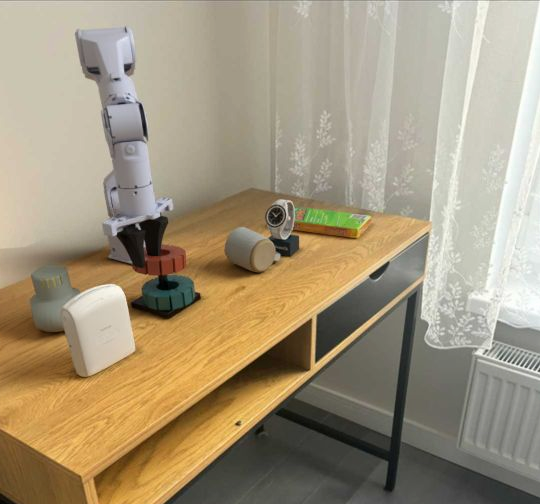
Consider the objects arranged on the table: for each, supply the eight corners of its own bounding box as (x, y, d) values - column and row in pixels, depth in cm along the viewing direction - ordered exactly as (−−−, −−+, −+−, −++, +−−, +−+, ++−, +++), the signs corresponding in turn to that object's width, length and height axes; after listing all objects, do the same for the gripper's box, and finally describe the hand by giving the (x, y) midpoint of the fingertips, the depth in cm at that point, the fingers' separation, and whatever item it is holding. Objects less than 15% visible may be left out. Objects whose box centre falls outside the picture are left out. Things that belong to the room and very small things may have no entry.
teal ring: (133, 303, 110) (131, 290, 108) (166, 283, 116) (165, 271, 115) (172, 314, 105) (170, 301, 104) (205, 293, 112) (203, 280, 111)
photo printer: (86, 381, 91) (69, 307, 84) (70, 371, 93) (51, 299, 87) (140, 352, 97) (128, 281, 91) (123, 343, 100) (110, 274, 93)
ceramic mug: (252, 279, 119) (250, 241, 115) (225, 268, 124) (222, 231, 120) (290, 263, 125) (289, 227, 122) (262, 253, 131) (261, 218, 127)
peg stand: (131, 307, 111) (124, 271, 107) (164, 288, 117) (159, 253, 113) (168, 319, 107) (163, 281, 103) (201, 298, 113) (197, 262, 109)
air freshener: (35, 315, 110) (21, 264, 105) (82, 306, 112) (70, 255, 107) (39, 343, 101) (24, 289, 96) (90, 332, 103) (78, 279, 98)
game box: (357, 242, 135) (273, 227, 143) (370, 228, 143) (290, 214, 150) (358, 229, 134) (273, 214, 141) (371, 215, 141) (290, 202, 149)
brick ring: (121, 268, 106) (120, 254, 105) (157, 255, 113) (156, 241, 112) (161, 279, 102) (160, 264, 101) (196, 264, 109) (195, 250, 108)
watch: (263, 256, 129) (260, 205, 123) (280, 242, 135) (278, 194, 129) (286, 260, 127) (285, 208, 121) (303, 246, 133) (302, 196, 127)
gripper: (119, 199, 91) (134, 283, 98) (182, 175, 101) (191, 252, 108) (86, 193, 94) (103, 274, 101) (151, 170, 104) (161, 245, 111)
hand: (146, 262), depth 105 cm, fingers open, 3 cm apart
